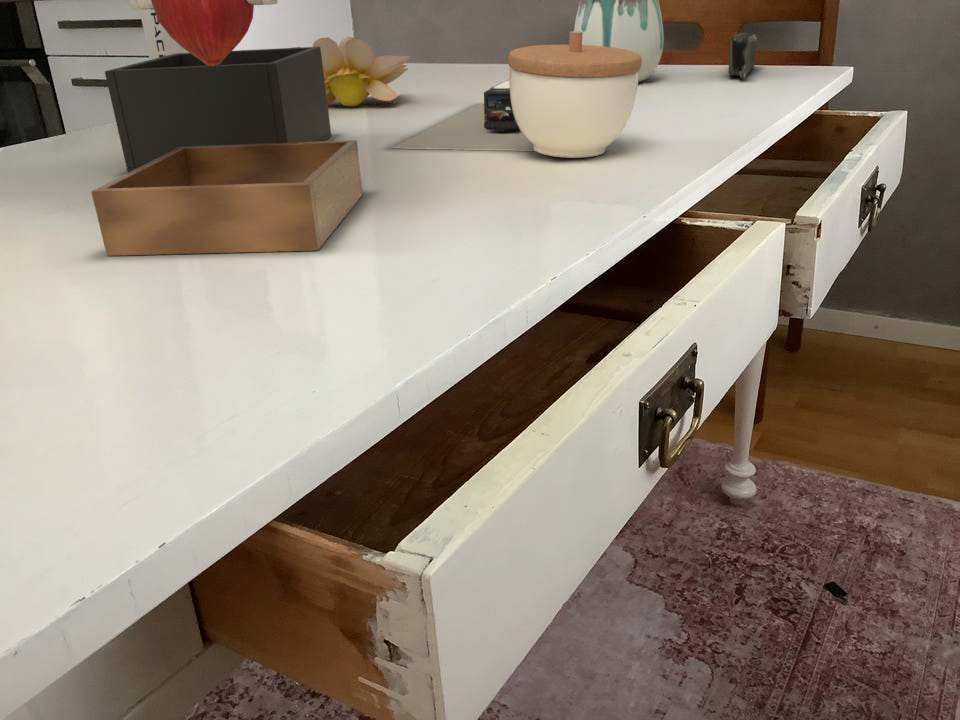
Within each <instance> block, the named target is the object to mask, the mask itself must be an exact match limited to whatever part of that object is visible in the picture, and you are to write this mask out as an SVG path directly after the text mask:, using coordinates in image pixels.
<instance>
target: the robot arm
mask: <svg viewBox="0 0 960 720" xmlns="http://www.w3.org/2000/svg"><path fill="white" fill-rule="evenodd" d="M278 1H279V0H246V3H247V4H248V5H254V6H266V5H267V6H269V5H270V6H273V5H278ZM128 4H129V6H130V8H131V9H132V10H134V11H136V10H137V11H140V10H141V9H154V8H153V0H128Z"/></svg>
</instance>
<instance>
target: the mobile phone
mask: <svg viewBox="0 0 960 720" xmlns="http://www.w3.org/2000/svg"><path fill="white" fill-rule="evenodd" d="M757 39H758V35H757V33H755V32H752V31H751V32H748V31H747V32H740V33H738V34H735V35H732V36H731V38H730V43H729V44H730V45H729V56H728V75H730V76H732V77H740V79H741V80H744V79H746V77H747V75H748V74H749V73H751V71H752V70H753V69H754V67H755V63H756V53H757V42H758V40H757Z"/></svg>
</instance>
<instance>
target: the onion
mask: <svg viewBox="0 0 960 720" xmlns="http://www.w3.org/2000/svg"><path fill="white" fill-rule="evenodd" d="M153 8H154V10H155V13H156V15H157V18H158V20H159V23H160V24H161V25H162V26H163V28H164V29H165V30H166V31H167V33H168V34H169V35H170V37H171V38H172V39H174V40H175V41H176V42H177V43H178V44H179V45H180V46H181V47H182V48H184V49H185V50H187V51H188V52H189V53H191V54H192V55H194V56H195V57H197V58H198V59H199V60H201V61H202V62H203V63H205V64H206V65H208V66H209V65H211V66H214V65H219V64H220V63H222V62H223V60H224V59H225V58H226V57H227V55H228V54H229V53H230V52H231V51H234V49H236V47H237V46H238V45H239V44H240V43H241V42H242V40H243V39H244V37H245V36H246V35H247V33H248V31H249V29H250V26H251V24H252V22H253V19H254V10H255V5H248V4H247V3H246V0H153Z"/></svg>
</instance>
